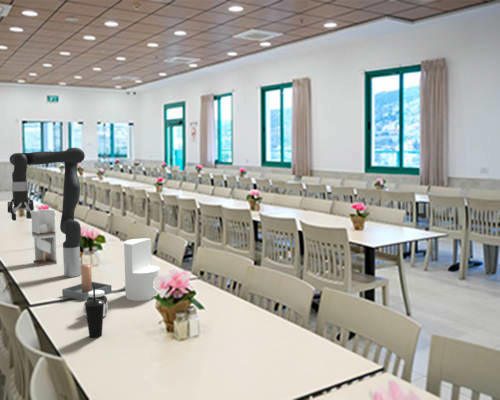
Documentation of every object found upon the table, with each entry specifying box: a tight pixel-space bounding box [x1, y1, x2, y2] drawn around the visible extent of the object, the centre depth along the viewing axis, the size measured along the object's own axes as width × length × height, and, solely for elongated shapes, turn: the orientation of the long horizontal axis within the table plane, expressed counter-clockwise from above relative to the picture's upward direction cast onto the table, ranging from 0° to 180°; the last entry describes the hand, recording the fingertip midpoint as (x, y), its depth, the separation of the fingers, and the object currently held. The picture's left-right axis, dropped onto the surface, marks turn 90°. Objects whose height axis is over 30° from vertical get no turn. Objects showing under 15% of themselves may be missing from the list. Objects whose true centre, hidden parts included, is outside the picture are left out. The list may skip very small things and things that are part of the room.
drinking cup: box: [83, 287, 105, 339], centre depth 198 cm, size 8×8×20 cm
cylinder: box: [123, 237, 161, 302], centre depth 252 cm, size 17×17×28 cm
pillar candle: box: [80, 263, 93, 293], centre depth 256 cm, size 5×5×14 cm
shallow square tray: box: [61, 281, 112, 302], centre depth 257 cm, size 18×16×4 cm
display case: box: [30, 208, 58, 267], centre depth 323 cm, size 11×11×35 cm
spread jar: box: [82, 290, 109, 320], centre depth 221 cm, size 12×11×12 cm
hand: (21, 219), depth 272 cm, fingers open, 8 cm apart
